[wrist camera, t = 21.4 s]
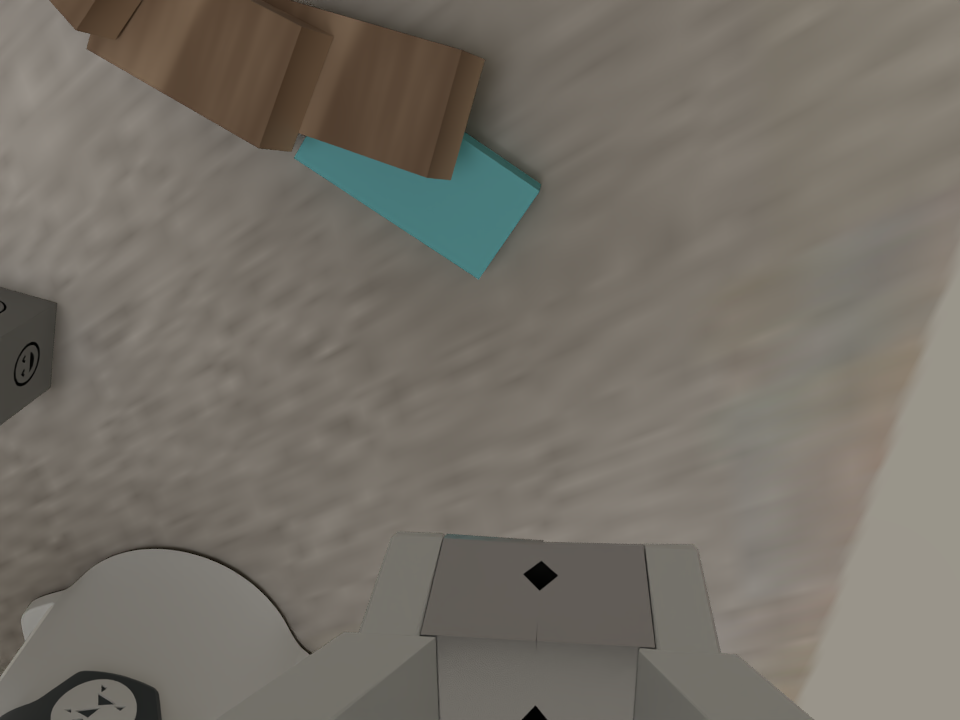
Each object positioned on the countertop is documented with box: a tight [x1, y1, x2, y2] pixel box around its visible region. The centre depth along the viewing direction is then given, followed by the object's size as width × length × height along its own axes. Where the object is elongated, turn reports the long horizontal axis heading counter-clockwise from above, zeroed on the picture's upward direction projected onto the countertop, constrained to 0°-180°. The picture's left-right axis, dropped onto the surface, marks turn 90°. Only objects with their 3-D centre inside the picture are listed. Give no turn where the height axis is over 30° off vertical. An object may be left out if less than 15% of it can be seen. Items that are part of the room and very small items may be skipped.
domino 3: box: [87, 0, 333, 152], centre depth 38 cm, size 2×5×10 cm
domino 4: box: [262, 0, 485, 180], centre depth 38 cm, size 2×5×10 cm
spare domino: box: [294, 132, 541, 279], centre depth 41 cm, size 2×5×10 cm
